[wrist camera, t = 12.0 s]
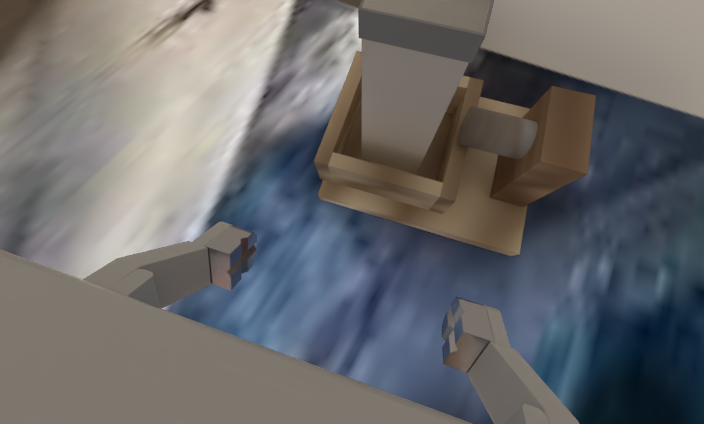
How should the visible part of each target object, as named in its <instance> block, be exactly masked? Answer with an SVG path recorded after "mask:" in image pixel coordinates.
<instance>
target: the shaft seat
mask: <svg viewBox="0 0 704 424" xmlns="http://www.w3.org/2000/svg"><path fill="white" fill-rule="evenodd" d="M483 82H484V80H480V79H476V78H472V77H467V76H462V78H461V81H460V83H459V85H458V87H457V89H456V91H455V93H454V95H453V97H452V100H451V102H450V104H449V106H448V108H447V110H446V112H445V114H444V116H443V119H442V121H441V123H440V125H439V127H438V129H437V131H436V133H435V135H434V138H433V140H432V142H431V144H430V146H429V148H428V150H427V152H426V154H425V157H424V159H423V161H422V163H421V165H420V167H419V169H418V171H417V173H413V172H409V171H405V170H402V169H398V168H395V167H391V166H387V165H384V164H380V163H377V162H373V161H369V160H366V159H362V52H359V51H357V52H356V54H355V57H354V60H353V62H352V65H351V67H350V70H349V72H348V75H347V77H346V80H345V83H344V85H343V88H342V90H341V93H340V95H339V98H338V101H337V103H336V106H335V108H334V111H333V113H332V116H331V118H330V121H329V124H328V126H327V129H326V131H325V134H324V136H323V139H322V142H321V144H320V147H319V149H318V152H317V154H316V157H315V159H314V163H315V166H316V168H317V171H318V174H319V177H320V179H323V182H322V184H321V187H320V190H319V192H318V196H319V198H320V199H321V200H324V201H328V202H331V203H334V204H338V205H341V206H344V207H348V208H351V209H354V210H358V211H361V212H364V213H368V214H371V215H375V216H378V217H381V218H385V219H388V220H391V221H395V222H398V223H401V224H405V225H408V226H411V227H415V228H418V229H421V230H425V231H428V232H431V233H435V234H438V235H441V236H445V237H448V238H451V239H455V240H458V241H461V242H465V243H468V244H471V245H475V246H478V247H481V248H485V249H488V250H491V251H495V252H498V253H501V254H505V255H508V256H514V255H518V254H520V248H521V242H522V236H523V230H524V223H525V217H526V211H527V205H528V204H530V203H532V202H534V201H536V200H538V199H540V198H541V197H543V196H545V195H547V194H549V193H551V192H553V191H555V190H557V189H559V188H561V187H563V186H565V185H567V184H569V183H571V182H573V181H575V180H577V179H578V178H580V177H582V176H584V175H586V174H588V166H589V156H590V147H591V137H592V128H593V118H594V109H595V99H596V96H595V95H591V94H586V93H582V92H577V91H573V90H569V89H564V88H560V87H555V86H551V87H550V88H549V90H548V91H547V92H546V93H545V94H544V95H543V96H542V97H541V98H540V99H539V100H538V101H537V102H536V103H535V105H534V106H533V107H532V108H531V109H529V108H525V107H521V106H516V105H512V104H508V103H504V102H500V101H495V100H491V99H487V98H483V97H480V94H481V90H482V86H483Z"/></svg>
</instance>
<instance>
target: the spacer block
mask: <svg viewBox="0 0 704 424" xmlns="http://www.w3.org/2000/svg"><path fill="white" fill-rule="evenodd" d="M493 3H494V0H362V1H361V4H360V6H359V9H358V13H359V38H362V159H366V160H369V161H373V162H377V163H380V164H384V165H387V166H391V167H395V168H398V169H402V170H405V171H409V172H413V173H417V171H418V169H419V167H420V165H421V163H422V161H423V159H424V157H425V154H426V152H427V150H428V148H429V146H430V144H431V142H432V140H433V138H434V135H435V133H436V131H437V129H438V127H439V125H440V123H441V121H442V119H443V116H444V114H445V112H446V110H447V108H448V106H449V104H450V102H451V100H452V97H453V95H454V93H455V91H456V89H457V87H458V85H459V83H460V81H461V78H462V76H463V74H464V72H465V70H466V68H467V66H468V64H469V63H472V62H473V60H474V58H475V56H476V54H477V52H478V50H479V48H480V46H481V44H482V42H483V40H484V37H485V35H486V31H487V27H488V23H489V19H490V15H491V11H492V7H493Z"/></svg>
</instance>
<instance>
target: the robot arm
mask: <svg viewBox="0 0 704 424" xmlns="http://www.w3.org/2000/svg"><path fill="white" fill-rule="evenodd" d="M256 242H257V235H256V234H255V233H254V232H251V231H248V230H245V229H243V228H240V227H237V226H234V225H230V224H227V223H224V222H219V223H217V224H216V225H214V226H213V227H212V228H210V229H209V230H208V231H206V232H205V233H204V234H202V235H201V236H200V237H198V238H197V239H196V240H194V241H193V242H189V241H187V242H183V243H179V244H175V245H170V246H166V247H162V248H158V249H154V250H150V251H146V252H142V253H138V254H133V255H129V256H125V257H121V258H117V259H115V260H114V261H112V262H111V263H109V264H107V265H106V266H104V267H102V268H101V269H99V270H98V271H96V272H94V273H93V274H91V275H90V276H88V277H86V278H85V279H83V280H82V279H79V278H77V277H74V276H71V275H68V274H66V273H63V272H60V271H58V270H55V269H52V268H49V267H47V266H44V265H41V264H38V263H36V262H33V261H30V260H28V259H25V258H22V257H19V256H17V255H14V254H11V253H9V252H6V251H4V250H1V249H0V424H473V423H470V422H467V421H465V420H462V419H459V418H457V417H454V416H451V415H448V414H446V413H443V412H440V411H438V410H435V409H432V408H429V407H427V406H424V405H421V404H419V403H416V402H413V401H410V400H408V399H405V398H402V397H400V396H397V395H394V394H391V393H389V392H386V391H383V390H380V389H378V388H375V387H372V386H370V385H367V384H364V383H361V382H359V381H356V380H353V379H351V378H348V377H345V376H342V375H340V374H337V373H334V372H332V371H329V370H326V369H323V368H321V367H318V366H315V365H313V364H310V363H307V362H304V361H302V360H299V359H296V358H294V357H291V356H288V355H286V354H283V353H280V352H277V351H275V350H272V349H269V348H267V347H264V346H261V345H258V344H256V343H253V342H250V341H248V340H245V339H242V338H239V337H237V336H234V335H231V334H229V333H226V332H223V331H220V330H218V329H215V328H212V327H210V326H207V325H204V324H201V323H199V322H196V321H193V320H191V319H188V318H185V317H182V316H180V315H177V314H174V313H172V312H169V311H166V310H163V309H161V308H163V307H166V306H168V305H170V304H172V303H174V302H176V301H178V300H180V299H182V298H185V297H187V296H189V295H191V294H193V293H195V292H197V291H199V290H202V289H204V288H206V287H208V286H210V285H211V284H213V285H216V286H220V287H223V288H226V289H229V290H232V289H233V288H234V286H235V285H236V284H237V283H238V282H239V281H240V280H241V274H242V273H245V272H247V271H249V269H250V268H251V267H252V265H253V263H254V261H255V259H256V253H257V250H256V248H255V246H254V244H255V243H256ZM442 338H443V339H444V341H445V344H444V345H443V347H442V350H443V364H445V365H447V366H450V367H453V368H455V369H458V370H461V371H463V372H466V373H467V375H468V377H469V379H470V381H471V383H472V385H473V386H474V388H475V390H476V392H477V394H478V395H479V397H480V399H481V401H482V403H483V405H484V406H485V408H486V410H487V412H488V414H489V415H490V417H491V419H492V421H493V423H494V424H579V422H578V420H577V419H576V418H575V417H574V416H573V415H572V414H571V413H570V411H569V410H568V409H567V408H566V407H565V406H564V405H563V403H562V402H561V401H560V400H559V399H558V398H557V397H556V395H555V394H554V393H553V392H552V391H551V390H550V389H549V387H548V386H547V385H546V384H545V383H544V382H543V381H542V379H541V378H540V377H539V376H538V375H537V374H536V373H535V371H534V370H533V369H532V368H531V367H530V366H529V365H528V363H527V362H526V361H525V360H524V359H523V358H522V357H521V355H520V354H519V353H518V352H517V351H516V350H515V349H512V348H511V346H510V343H509V339H508V336H507V333H506V329H505V326H504V323H503V319H502V316H501V313H500V311H499V310H498V309H495V308H492V307H488V306H485V305H481V304H478V303H474V302H471V301H468V300H465V299H462V298H458V297H456V298H455V299H454V300H453V302H452V310H450V311H448V312H447V313H446V315H445V317H444V320H443V324H442Z"/></svg>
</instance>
